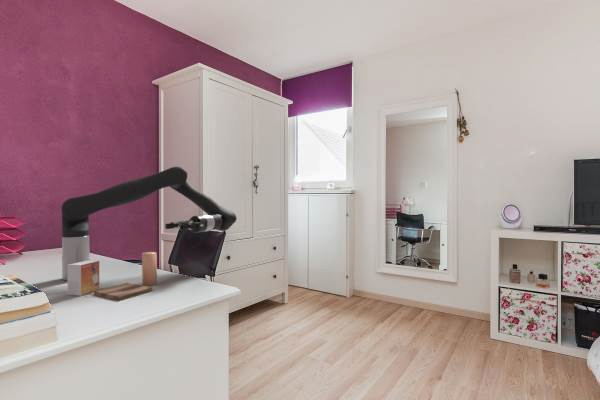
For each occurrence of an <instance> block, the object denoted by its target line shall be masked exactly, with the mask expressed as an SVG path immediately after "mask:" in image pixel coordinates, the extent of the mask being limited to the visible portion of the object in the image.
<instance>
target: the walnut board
mask: <svg viewBox="0 0 600 400" xmlns="http://www.w3.org/2000/svg"><path fill="white" fill-rule="evenodd" d="M152 291H153V286H142V284H136V283H132V282H125V283H121V284H118V285H113V286H109V287H105V288H102V289H100V288H99V290H97V291H93V295H95V296H99V297H103V298H107V299H112V300H115V301H119V302H120V301H123V300H127V299H130V298H132V297H136V296H140V295H143V294H146V293H149V292H152Z"/></svg>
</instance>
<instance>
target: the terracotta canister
mask: <svg viewBox="0 0 600 400" xmlns="http://www.w3.org/2000/svg"><path fill="white" fill-rule="evenodd" d="M157 258H158V257H157V252H156V251H146V252H142V253H141V269H142V270H141V274H142V276H141V278H142V279H141V282H142V284H141V285H142V286H147V287H153V286H156V285H157V284H158V272H157V270H158V268H157V267H158V261H157Z"/></svg>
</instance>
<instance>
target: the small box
mask: <svg viewBox="0 0 600 400" xmlns="http://www.w3.org/2000/svg"><path fill="white" fill-rule="evenodd" d="M67 272H68V280H67V295H68V296H77V297H78V296H80V297H81V296H84V295H86V294H89V293H94V291H97V290H100V260H86V261H82V262H78V263H74V264H68V265H67Z"/></svg>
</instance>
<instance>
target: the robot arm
mask: <svg viewBox="0 0 600 400" xmlns="http://www.w3.org/2000/svg"><path fill="white" fill-rule="evenodd" d="M187 179H188V172H187V170H186V169H184V168H183V167H181V166H172V167H169V168H167V169H165V170H162V171H160V172H157V173H154V174H150V175H146V176H143V177H139V178H135V179H130V180H128V181H123V182H121V183H118V184H115V185H112V186H110V187H108V188H105V189H103V190H101V191H99V192H98V191H97V192H95V193H90V194H87V195H81V196H76V197H75V196H73V197H69V198H67V199H66V200H65V201H63V203H62V204H61V245H62V246H61V253H62V254H61V255H62V256H61V268H62V271H61V272H62V274H61V275H62V276H61V278H62V280H63V281H68V272H67V265H68V264H74V263H78V262H82V261H86V260H90V259H91V258H90V215H92V214H94V213H97V212H99V211H102V210H106V209H109V208H115V207H119V206H123V205H127V204H131V203H133V202H136V201H137V202H138V201H140V200H142V199H144V198H146V197H148V196H151V194H153V193H155V192H157V191H159V190H161V189H165V188H168V187H170V188H171V189H172V190H174V191H175V192H177V193H179V194H181V195H182V196H184V197H185V198H187V199H188V200H189V201H190V202H192V203H193V204H195V206H198V208H199V209H201V210H202V211H203V212H205V213H206V214H201V215H199V214H198V215H193V216H191V217H190V219H188V220H187V219H186V220H179V221H171V222H169V223H165V229H166V230H168V229H170V230H171V229H173V230H174V229H178V230H180V231H184V230H190V231H191V232H192V233H195V234H197V233H198V234H199V233H203V232H208V231H209V232H210V231H213V230H217V231H222V232H225V231H227V230H229V229H230V228H231V227H232V226H233V225H234V224H235V223H236V221H237V219H238V218H237V215H236V214H235V212H233V211H232V210H230V209H228V208H226V207H224V206H221V205H220V204H219V203H217V202H216V201H215V200H214V199H213V198H212V197H210V195H209V196H208V195H207V194H206V193H204V192H201V191H200V190H198V189H196V188H195V187H194V186H193V185H192V184H190V183H189V182H188V181H187Z"/></svg>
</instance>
